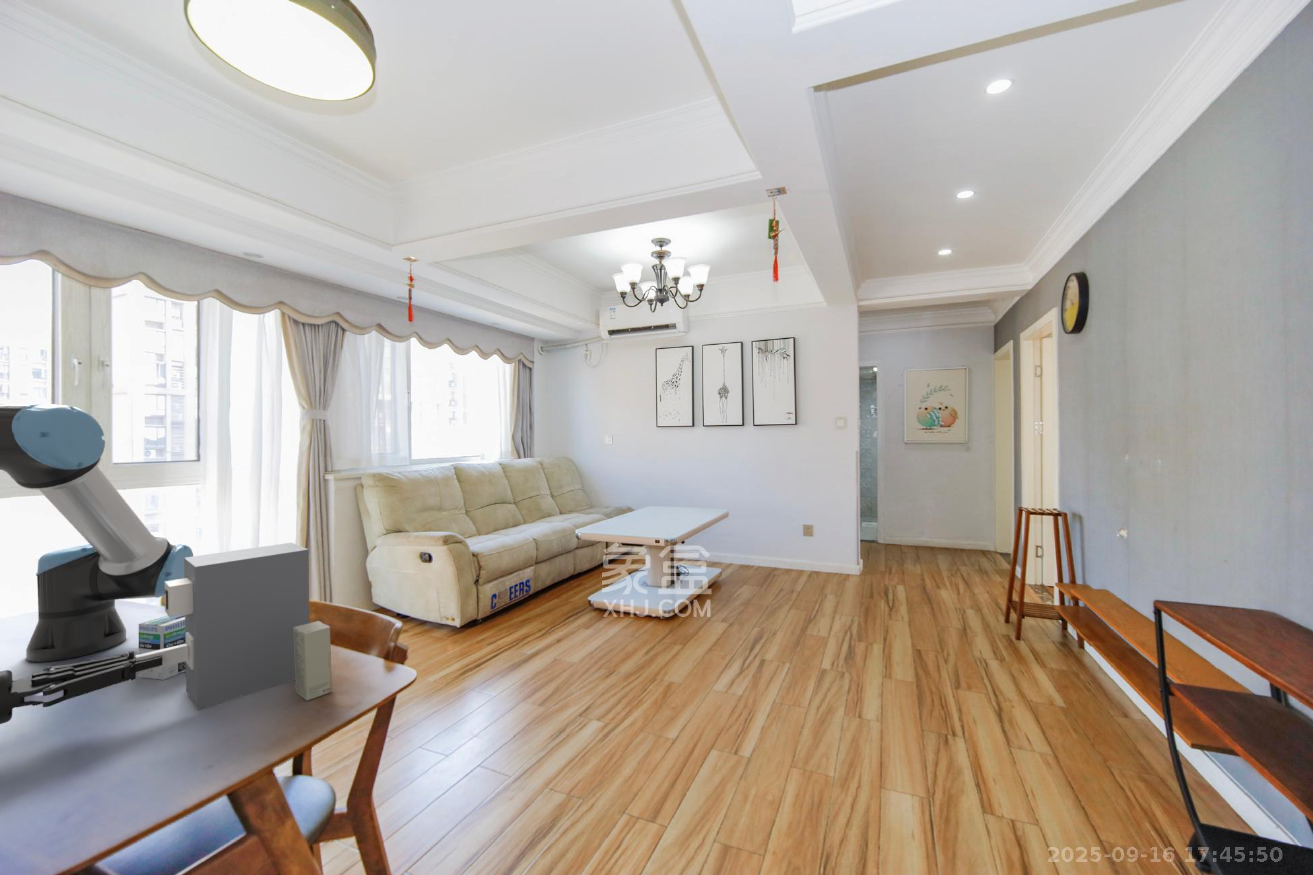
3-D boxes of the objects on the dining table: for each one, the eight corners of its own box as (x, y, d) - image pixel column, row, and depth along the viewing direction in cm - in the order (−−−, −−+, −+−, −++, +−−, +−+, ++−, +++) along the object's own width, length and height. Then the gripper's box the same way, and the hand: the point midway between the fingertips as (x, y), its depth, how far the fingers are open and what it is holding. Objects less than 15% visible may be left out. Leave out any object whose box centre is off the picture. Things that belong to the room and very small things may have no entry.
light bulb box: (163, 680, 101) (162, 626, 101) (136, 678, 103) (135, 623, 102) (219, 657, 112) (218, 608, 112) (194, 655, 113) (193, 606, 113)
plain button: (186, 661, 95) (185, 632, 95) (227, 651, 100) (227, 623, 100) (191, 669, 91) (191, 639, 91) (234, 658, 96) (233, 629, 96)
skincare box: (333, 692, 96) (332, 626, 96) (305, 702, 92) (304, 634, 92) (320, 682, 100) (319, 619, 100) (293, 691, 96) (292, 626, 96)
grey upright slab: (186, 690, 97) (184, 557, 97) (293, 659, 110) (291, 542, 110) (197, 709, 90) (195, 566, 90) (310, 674, 103) (308, 549, 103)
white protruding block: (163, 611, 93) (163, 581, 93) (208, 602, 97) (208, 574, 97) (168, 618, 89) (167, 587, 89) (215, 608, 94) (214, 579, 94)
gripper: (-27, 715, 79) (181, 662, 97) (-36, 747, 71) (193, 683, 89) (-28, 666, 79) (180, 623, 97) (-37, 693, 71) (193, 640, 89)
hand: (186, 652), depth 93 cm, fingers closed
